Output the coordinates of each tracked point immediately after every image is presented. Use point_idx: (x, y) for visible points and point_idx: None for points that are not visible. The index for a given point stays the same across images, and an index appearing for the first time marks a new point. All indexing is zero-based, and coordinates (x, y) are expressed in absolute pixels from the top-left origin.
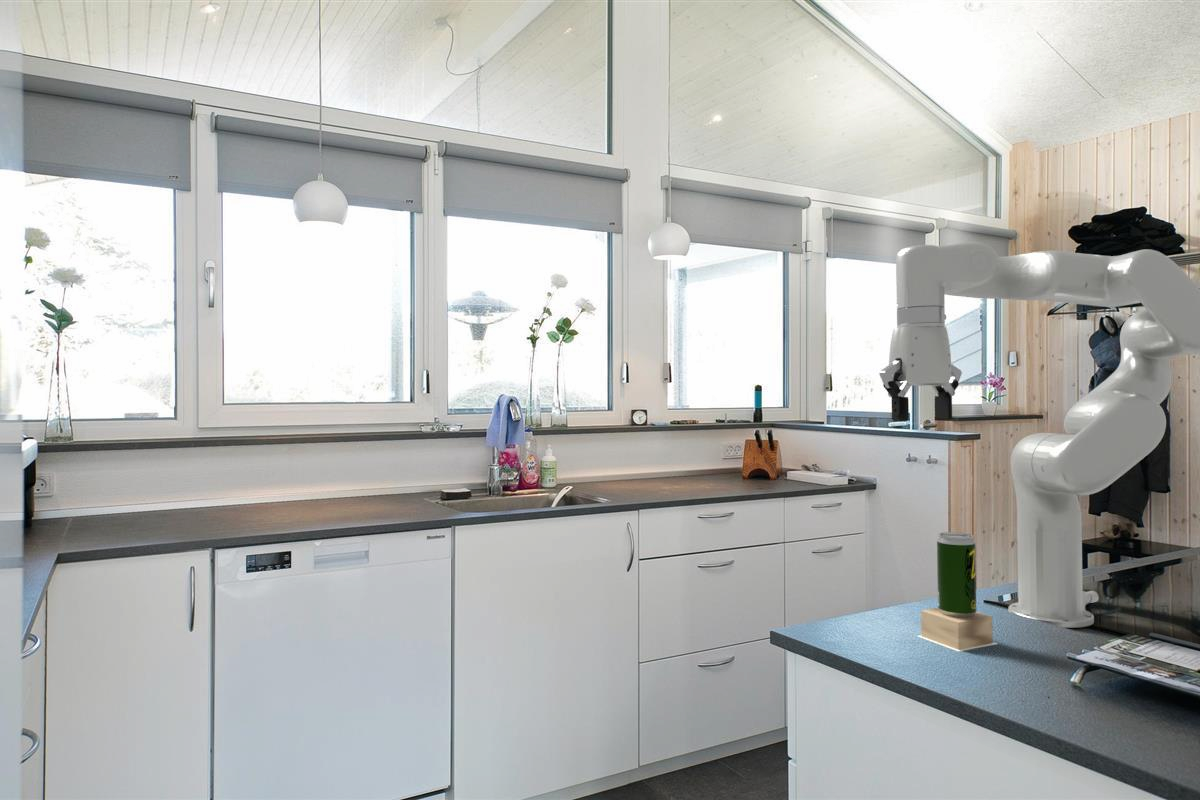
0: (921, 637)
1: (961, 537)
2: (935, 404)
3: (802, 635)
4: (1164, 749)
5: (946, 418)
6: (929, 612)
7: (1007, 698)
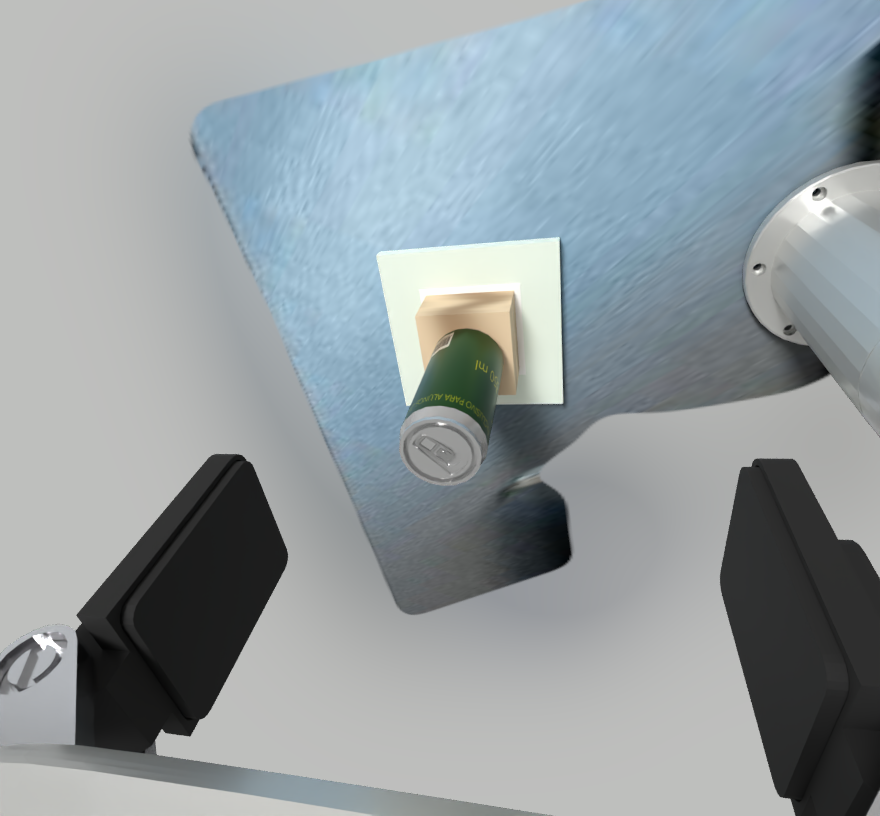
0: (421, 301)
1: (432, 475)
2: (786, 590)
3: (231, 162)
4: (445, 591)
5: (722, 567)
6: (422, 332)
7: (395, 482)
